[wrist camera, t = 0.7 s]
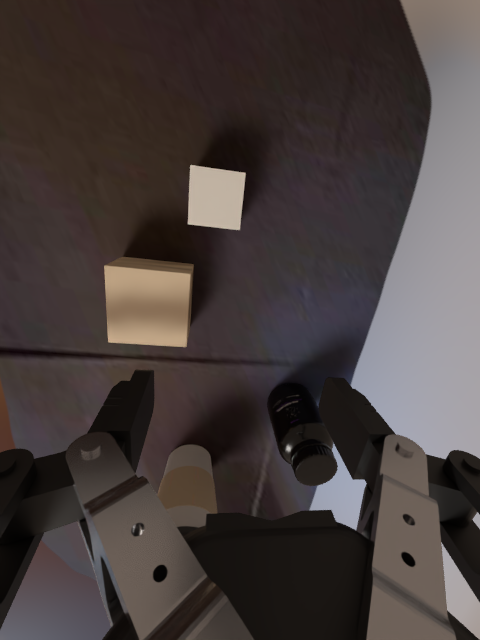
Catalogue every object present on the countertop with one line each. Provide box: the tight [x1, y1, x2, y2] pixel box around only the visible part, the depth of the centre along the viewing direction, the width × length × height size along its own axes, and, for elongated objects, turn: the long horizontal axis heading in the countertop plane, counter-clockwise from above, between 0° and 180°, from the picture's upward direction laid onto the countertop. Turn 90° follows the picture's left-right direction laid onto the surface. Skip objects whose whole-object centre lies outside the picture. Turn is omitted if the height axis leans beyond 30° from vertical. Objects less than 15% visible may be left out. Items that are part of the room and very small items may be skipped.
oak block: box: [104, 257, 194, 347], centre depth 30 cm, size 8×8×6 cm
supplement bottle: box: [267, 383, 338, 486], centre depth 35 cm, size 7×7×12 cm
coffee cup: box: [157, 445, 217, 536], centre depth 36 cm, size 9×9×15 cm
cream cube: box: [188, 165, 246, 230], centre depth 28 cm, size 5×5×5 cm
